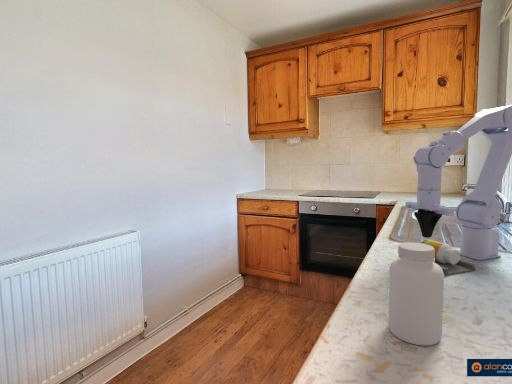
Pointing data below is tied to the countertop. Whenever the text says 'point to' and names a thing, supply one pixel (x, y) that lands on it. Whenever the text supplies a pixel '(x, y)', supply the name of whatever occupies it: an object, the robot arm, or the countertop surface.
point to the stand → (456, 267)
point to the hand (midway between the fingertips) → (426, 236)
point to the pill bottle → (416, 295)
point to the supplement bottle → (443, 252)
